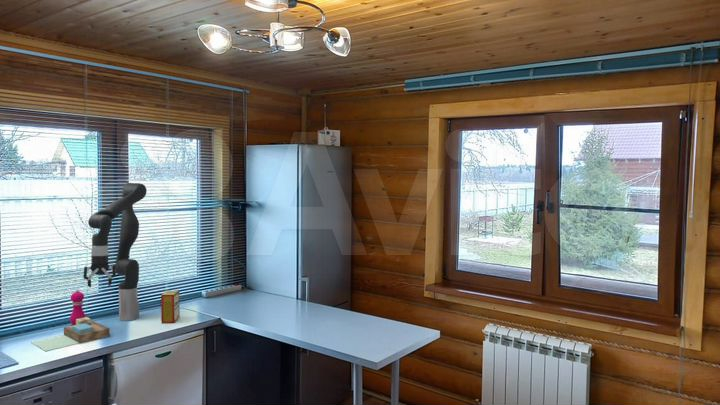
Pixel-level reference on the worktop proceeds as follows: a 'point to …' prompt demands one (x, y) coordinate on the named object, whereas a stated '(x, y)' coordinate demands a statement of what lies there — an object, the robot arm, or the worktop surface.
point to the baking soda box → (170, 307)
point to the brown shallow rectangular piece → (88, 333)
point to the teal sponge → (82, 328)
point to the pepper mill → (77, 306)
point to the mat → (54, 343)
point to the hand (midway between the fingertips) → (99, 286)
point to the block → (83, 321)
